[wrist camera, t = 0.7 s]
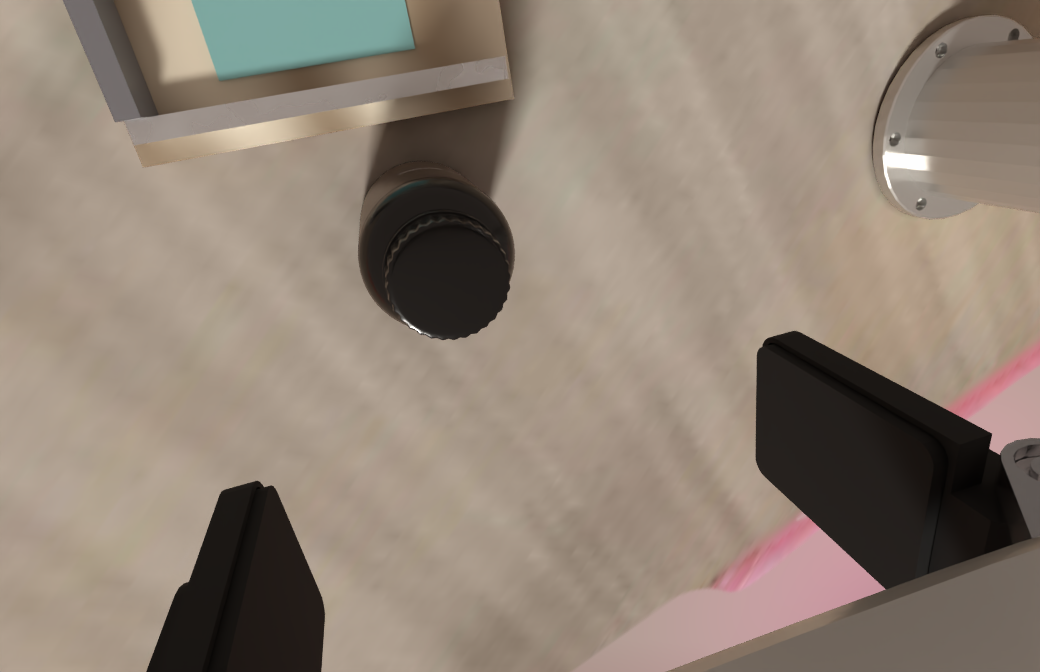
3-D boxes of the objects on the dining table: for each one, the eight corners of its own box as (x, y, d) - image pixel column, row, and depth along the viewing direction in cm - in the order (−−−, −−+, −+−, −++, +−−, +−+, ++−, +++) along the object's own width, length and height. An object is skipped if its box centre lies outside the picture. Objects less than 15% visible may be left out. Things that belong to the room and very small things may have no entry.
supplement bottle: (435, 132, 31) (477, 150, 20) (503, 235, 34) (572, 298, 23) (331, 207, 31) (317, 264, 20) (408, 303, 34) (432, 397, 23)
